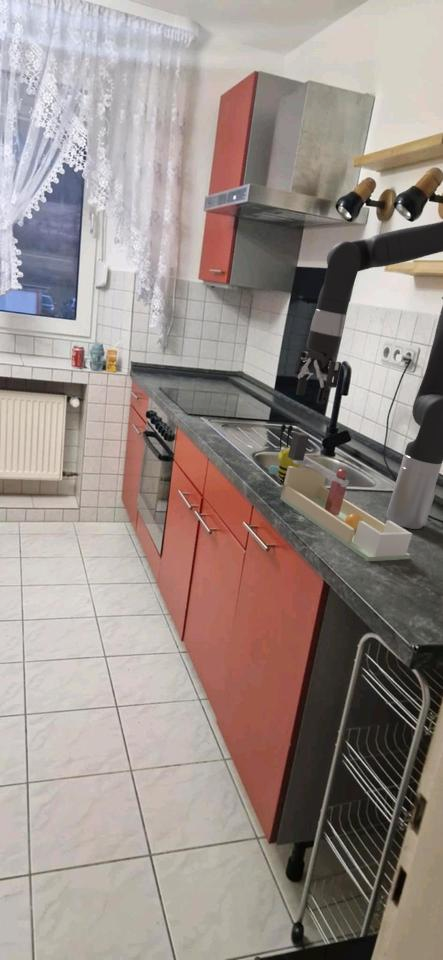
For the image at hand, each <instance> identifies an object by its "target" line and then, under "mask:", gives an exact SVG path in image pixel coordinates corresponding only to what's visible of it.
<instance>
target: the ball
mask: <svg viewBox="0 0 443 960" xmlns="http://www.w3.org/2000/svg"><path fill="white" fill-rule="evenodd" d="M359 521H363V519H362V517H361V516H360V515H359V514H356V513H352V514H349V515H348V516H347V517H346V519H345V523H346V524H347V525H349V526H350V527H352V528H353V529H355V531H356V530H357V527H358V523H359Z"/></svg>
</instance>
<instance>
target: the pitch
mask: <svg viewBox="0 0 443 960" xmlns="http://www.w3.org/2000/svg"><path fill="white" fill-rule="evenodd" d="M326 479H327V478H326V477H324V476H322V475H321V474H319V473H317V472H316V471H314V470H312V469H311V468H309V467H307V466H298V467H296V466H288V468H287V473H286V477H285V481H284V482H283V485H282V490H281V495H280V499H279V500H280V501H282V502H284V503H285V504H286V505H288V506H289V507H291V508H292V509H294V510H295V511H296V512H298V513H299V514H301V516H304V518H306V519H307V520H309V522H311V523H313V524H315V526H317V527H319V528H320V529H321V530H323V531H324V532H326V533H327V534H329V535H330V536H331V537H333V538H334V539H336V540H337V541H339V542H340V543H341V544H342V545H344V546H345V547H347V548H348V549H350V550H351V551H352V552H354V553H355V554H357V555H358V556H359V557H361V558H362V559H364V561H367V562H383V561H399V560H410V558H411V554H410V553H409V552H408V549H409V545H410V543H411V539H412V536H413V533H412V532H410V531H408V530H407V529H405V528H404V527H402V526H399V525H397V524H395V523H393V522H392V521H389V520H386V522H385V523H384V522H382V521H381V520H379V519H378V518H376V517H375V516H373V515H371V514H369V513H368V512H367V511H365V510H363V509H362V508H359V507H358V506H356V505H355V504H353V503H352V502H350V501H348V500H346V499H345V498H343V502H342V505H341V509H340V513H339V515H332V514H331V513H329V512H328V511H326V510H325V506H326V502H327V498H328V495H329V491H330V488H327V487H326V486H325V484H326V483H325V482H326ZM352 513H356V514H359V515H360V516H361V517H362V519H363V521H359V523H358V527H357V530H356V531H355V529H353V528H352V527H350V526H349V525H347V524H346V523H345V519H346V517H347V516H348V515H349V514H352Z"/></svg>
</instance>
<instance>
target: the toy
mask: <svg viewBox="0 0 443 960" xmlns="http://www.w3.org/2000/svg"><path fill="white" fill-rule="evenodd" d="M286 428H287V426H286V424H285V423H283V424H282V425H281V427H280V437H279V453H278V456H277V457H278V458H277V459H278V462H279V466H277V465H274V464H271V465H269V467H268V474H270V475H275V474H278V477H279V478H280V479H281V480H282V482H283V483H284V481H285V477H286V473H287V468H288V466H296V467H301V464H295V463H294V462H293V460H292V459H291V458H289V457H288V454H289V450H290V447H289V439H290V434H291V433H292V431H293V425H292V424H289V426H288V428H287V437H286V445H285V446H282V442H283V441H282V439H283V433H284V432H285V431H286Z"/></svg>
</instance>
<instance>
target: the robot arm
mask: <svg viewBox="0 0 443 960" xmlns="http://www.w3.org/2000/svg"><path fill="white" fill-rule="evenodd" d="M439 253H443V220H442V221H439V222H434V223H430V224H429V223H428V224H423V225H418V226H412V227H407V228H401V229H396V230H391V231H387V232H383V233H380V234H376V235H373V236H371V237H368V238H364V239H358V240H354V241H348V240H347V241H345V240H344V241H341V242H338V243H336V244H335V245H334V246H333V247H332V248H331V249H330V250H329V252H328V253H327V255H326V264H327V267H326V271H325V277H324V282H323V285H322V286H321V289H320V290H319V291H320V292H319V295H318V299H317V302H316V303H317V304H316V309H315V312H314V315H313V317H312V320H311V325H310V328H309V334H308V337H307V341H306V349H307V350H309V351H306V350H305V351H303V350H300V351H299V353H298V357H297V361H296V364H295V365H296V366H295V368H294V372H293V373H294V375H295V376H297V379H298V381H297V387H296V392H295V393H296V395H298V396H305V395H306V391H307V387H308V382H309V381H308V380H309V379H310V377H312V376H313V375H315V376H316V378H317V380H318V381H319V386H320V387H319V389H318V394H317V398H316V403H317V404H319V405H325V404H326V402H327V400H328V395H329V392H330V390H331V389H333V388H334V389H335V388H337V387H338V382H339V378H340V373H341V369H342V362H341V361H336V360H334V356H335V355H338V353H339V348H340V345H341V340H342V337H343V332H344V327H345V324H346V323H345V322H346V315H347V311H348V307H349V302H350V299H351V293H352V289H353V287H354V285H355V281H356V278H357V275H358V272H361V271H365V270H368V269H372V268H380V267H381V268H383V267H386V266H392V265H397V264H402V263H405V262H410V261H414V260H418V259H420V258H425V257H427V256H428V257H429V256H431V255H435V254H439ZM434 333H435V334H434V336H433V337H434V338H433V342H432V345H431V349H430V352H429V356H428V361H427V364H426V368H425V372H424V375H423V377H422V379H421V382H420V386H419V388H418V391H417V392H416V393H417V394H416V396H415V399H414V402H413V406H412V418H413V420H414V422H415V423H416V424H417V425H418V426H419V430H418V432H417V435H416V438H415V439H414V440H413V441H410V442H408V443H407V444H406V447H405V450H404V453H403V457H402V460H401V463H400V468H399V470H398V474H397V476H396V477H397V478H396V481H395V484H394V487H393V491H392V494H391V498H390V501H389V505H388V507H387V512H386V514H385V518H386V520H387V521H392V522H393V523H395V524H397V525H398V526H400V527H402V528H406V529H412V530H413V529H414V530H420V529H422V527H426V525H427V524H426V523H427V522H428V521H427V520H428V518H429V514H430V511H431V508H432V504H433V502H434V499H435V495H436V491H435V487H436V485H437V481H438V478H439V474H440V472H441V468H442V466H443V465H442V464H443V305H442V307H441V311H440V313H439V317H438V321H437V325H436V329H435V332H434ZM300 369H301V370H300Z"/></svg>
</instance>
